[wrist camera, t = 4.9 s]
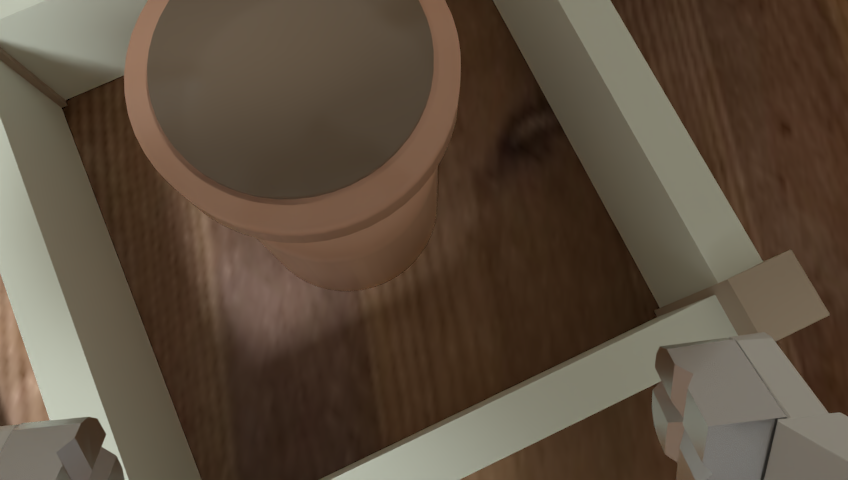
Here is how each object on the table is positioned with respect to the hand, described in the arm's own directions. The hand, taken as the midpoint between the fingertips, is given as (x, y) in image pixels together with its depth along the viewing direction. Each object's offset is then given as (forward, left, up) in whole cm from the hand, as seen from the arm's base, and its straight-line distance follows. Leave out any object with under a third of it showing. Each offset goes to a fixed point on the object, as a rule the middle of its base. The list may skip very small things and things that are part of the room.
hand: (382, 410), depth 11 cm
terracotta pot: (+6, -1, -10) cm, 12 cm away
